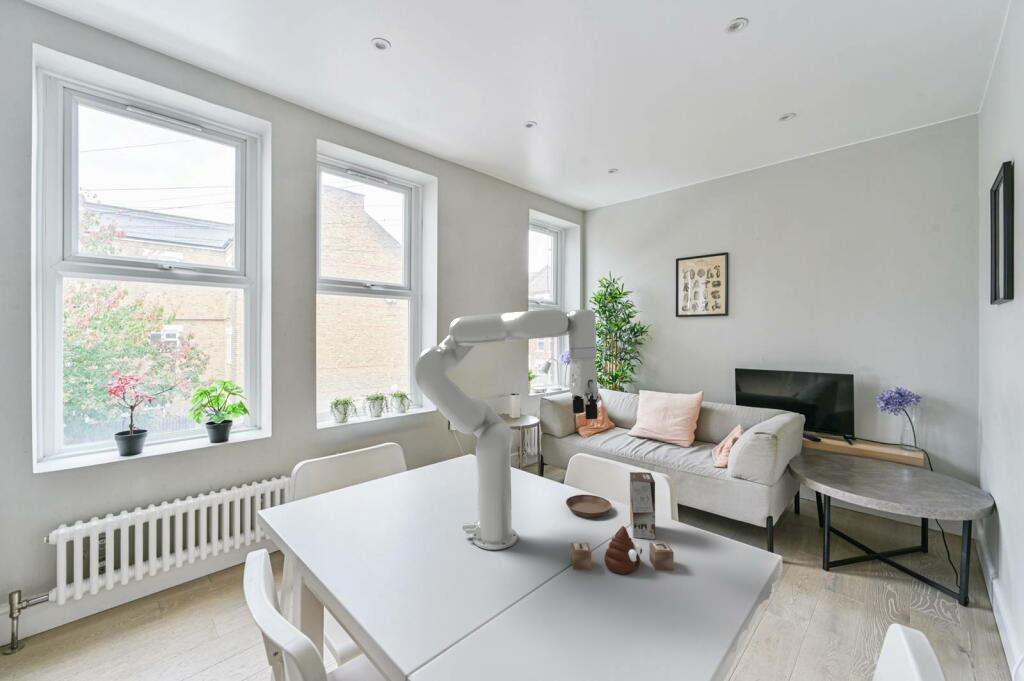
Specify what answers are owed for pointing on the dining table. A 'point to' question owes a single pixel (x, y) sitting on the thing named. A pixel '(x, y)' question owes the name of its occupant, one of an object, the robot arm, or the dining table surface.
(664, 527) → the dining table surface
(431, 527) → the dining table surface
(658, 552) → the letter l block
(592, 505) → the saucer
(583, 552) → the letter i block
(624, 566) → the poop emoji
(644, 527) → the coffee box
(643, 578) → the dining table surface
